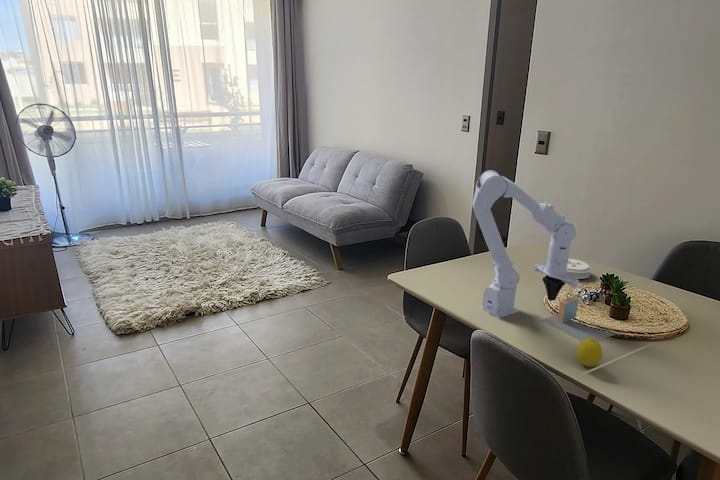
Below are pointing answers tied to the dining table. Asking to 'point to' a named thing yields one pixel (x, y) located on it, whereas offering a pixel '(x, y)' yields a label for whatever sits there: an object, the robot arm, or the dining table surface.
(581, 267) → the lid
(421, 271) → the dining table surface
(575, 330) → the mat
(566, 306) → the tile
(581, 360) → the lemon
